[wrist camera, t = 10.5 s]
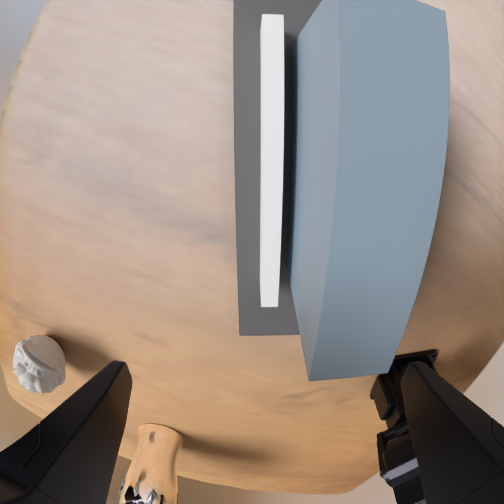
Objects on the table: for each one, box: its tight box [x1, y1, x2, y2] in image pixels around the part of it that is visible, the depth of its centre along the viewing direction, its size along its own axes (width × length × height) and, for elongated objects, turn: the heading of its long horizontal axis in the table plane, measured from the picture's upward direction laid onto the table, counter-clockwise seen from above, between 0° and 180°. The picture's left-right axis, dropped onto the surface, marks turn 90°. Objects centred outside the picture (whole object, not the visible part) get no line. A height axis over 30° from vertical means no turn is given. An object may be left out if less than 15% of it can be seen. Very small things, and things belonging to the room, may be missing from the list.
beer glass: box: [117, 424, 183, 504], centre depth 26 cm, size 7×7×15 cm
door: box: [287, 0, 450, 381], centre depth 13 cm, size 4×14×10 cm, turn 0°
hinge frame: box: [234, 0, 322, 336], centre depth 16 cm, size 10×26×4 cm, turn 0°
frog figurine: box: [13, 335, 66, 393], centre depth 22 cm, size 6×7×7 cm
